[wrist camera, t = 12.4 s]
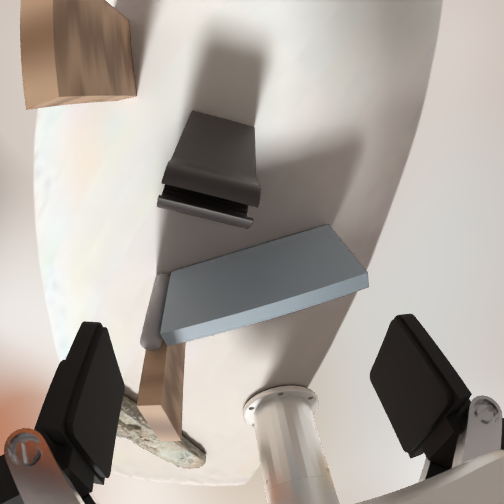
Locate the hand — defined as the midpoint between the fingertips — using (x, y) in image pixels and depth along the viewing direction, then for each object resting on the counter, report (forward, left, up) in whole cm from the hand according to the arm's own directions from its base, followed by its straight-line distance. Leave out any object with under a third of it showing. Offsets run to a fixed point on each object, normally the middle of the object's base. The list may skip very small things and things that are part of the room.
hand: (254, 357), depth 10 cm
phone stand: (+2, +1, -23) cm, 23 cm away
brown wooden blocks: (-1, +8, -23) cm, 24 cm away
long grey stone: (-40, +21, -24) cm, 51 cm away
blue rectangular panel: (-9, -1, -23) cm, 24 cm away
